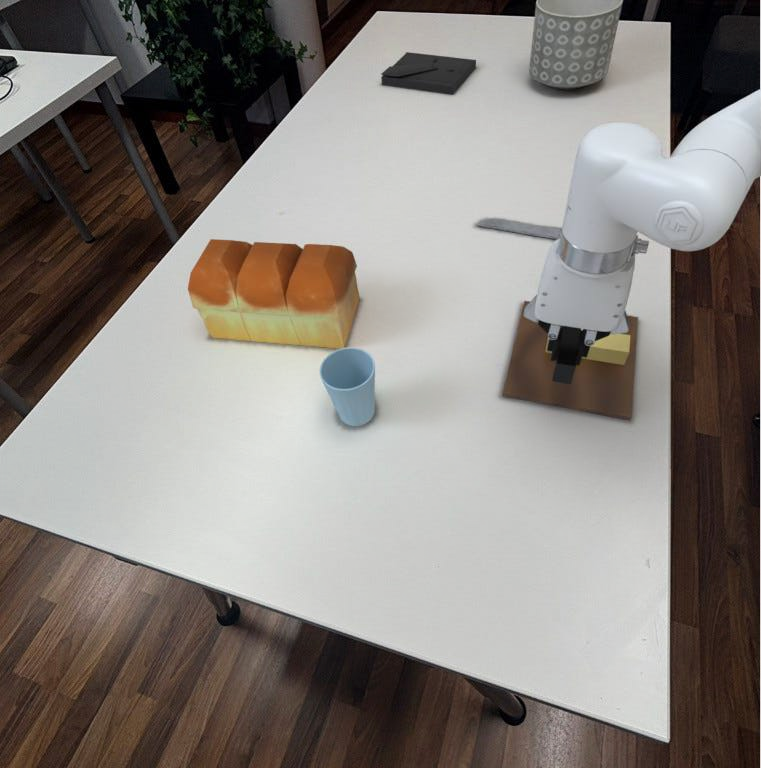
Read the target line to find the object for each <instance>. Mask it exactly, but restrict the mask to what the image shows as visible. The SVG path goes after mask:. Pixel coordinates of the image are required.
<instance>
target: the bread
mask: <svg viewBox="0 0 761 768" xmlns="http://www.w3.org/2000/svg"><path fill="white" fill-rule="evenodd" d="M357 267H358V265H357V262H356V259H355V255H354V253H353V251H352V250H350V249H348V248H347V247H345V246H342V245H334V244H319V243H318V244H317V243H306V244H304V246H303V248H302V247H301V246H299V245H298V244H297V243H281V242H265V241H264V242H262V241H261V242H260V241H254V242H253V244H252V243H249V242H247V241H244V240H243V241H241V240H234V239H216V238H210V239H209V240H208V242H207V244H206V246H205V248H204V249H203V251H202V253H201V255H200V256H199V258H198V260H197V262H196V263H195V265H194V266H193V268H192V269H191V271H190V274H189V280H188V284H187V285H188V286H187V292H188V295H189V298H190V301H191V305H192V308H193V309H195V310H197V311H198V313H199V315H200V318H201V319H202V321H203V323H204V325H205V327H206V329H207V331H208V333H209V336H210V338H213V339H224V340H233V341H234V340H236V341H246V342H256V343H257V342H259V343H269V344H280V345H291V346H303V347H316V348H326V349H327V348H329V349H336V350H338V349H342V348H346V346H347V345H346V344H347V342H348V338H349V335H350V333H351V330H352V326H353V322H354V320H355V316H356V314H357V310H358V307H359V304H360V301H361V299H360V298H361V297H360V292H359V285H358V282H357V276H356V270H357Z"/></svg>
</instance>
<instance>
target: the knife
mask: <svg viewBox="0 0 761 768" xmlns="http://www.w3.org/2000/svg"><path fill="white" fill-rule="evenodd" d="M476 227H482V228H486V229H493V230H499V231H504V232H509V233H515V234H522V235H529V236H535V237H540V238H546V239H551V240H557V239H560V235H561V230H562V227H556V226H546V225H539V224H532V223H526V222H521V221H516V220H515V221H514V220H510V219H504V218H485V219H482V220H480V221H479V222H478V223H477V224H476Z"/></svg>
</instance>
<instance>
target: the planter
mask: <svg viewBox="0 0 761 768" xmlns="http://www.w3.org/2000/svg"><path fill="white" fill-rule="evenodd" d="M623 3H624V0H536V2H535V10H534V20H533V30H532V40H531V49H530V58H529V67H528V72H529V76H530V77H531V78H532V79H534V80H535V81H537V82H538V83H541V84H543V85H545V86H548V87H550V88H553V89H557V90H567V91H568V90H574V89H579V88H582V87H585V86H589V85H592V84H595V83H597V82H599V81H601V80H602V79H604V78H605V77H606V76H607V74H608V72H609V70H610V69H609V68H610V65H611V59H612V55H613V50H614V45H615V41H616V36H617V30H618V26H619V21H620V16H621V13H622V7H623Z"/></svg>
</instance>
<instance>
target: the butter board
mask: <svg viewBox="0 0 761 768" xmlns="http://www.w3.org/2000/svg"><path fill="white" fill-rule="evenodd" d="M530 302H531V300H530V301H528V300H524V301H523V306H522V310H521V314H520V318H519V323H518V326H517V331H516V334H515V340H514V343H513V347H512V352H511V356H510V360H509V364H508V368H507V372H506V377H505V382H504V384H503V385H504V386H503V389H502V397H504V398H509V399H515V400H519V401H526V402H530V403H535V404H540V405H546V406H551V407H557V408H562V409H567V410H572V411H577V412H582V413H588V414H593V415H599V416H604V417H610V418H613V419H619V420H625V421H631V419H632V415H633V401H634V400H633V399H634V386H635V371H636V357H637V356H636V354H637V340H638V339H637V338H638V324H639V317H638V316H633V315H627V317H628V320H629V331H628V332H627V333H622V334H625V335H630V348H629V354H628V357H627V359H626V362H625V365H620V364H614V363H608V362H602V361H595V360H589V359H583V358H581V362H580V365H579V366H578V365H576V369H575V372H574V375H573V379H572V382H571V385H570V384H565V383H559V382H554V381H552V378H553V372H554V366H555V361H550V360H551V355H552V353H547V352H545V351H546V346H547V340H548V334H547V333H546V332H545V331H544V330H543V329H542V328H541V327H540V326H539V325H538V323H537V322H533V321H531V320H529V319H528V318H526V317H524V310H525V307H526V306H527V305H528V304H529V303H530Z"/></svg>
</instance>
